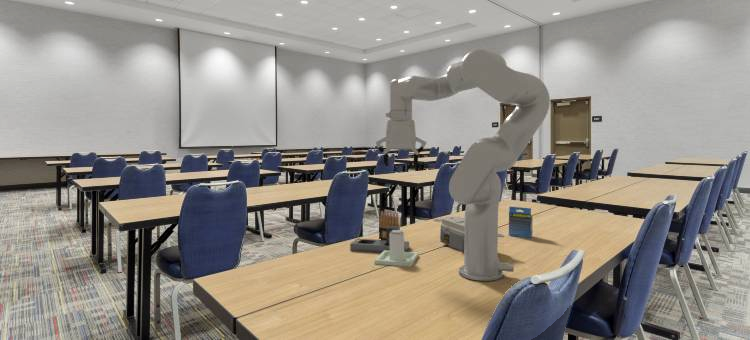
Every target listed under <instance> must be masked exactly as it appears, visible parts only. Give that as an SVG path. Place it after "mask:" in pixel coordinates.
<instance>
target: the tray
mask: <svg viewBox="0 0 750 340" xmlns="http://www.w3.org/2000/svg"><path fill="white" fill-rule="evenodd" d="M418 257H419V252H415V251H407V252H404V259H403V261H392V260H390V251H389V250H384V251H383V252H382V253H380V254H379V255H377V257H376V258H375V259H374V263H373V264H374V265H382V266H383V265H384V266H395V267H407V268H408V267H410V268H411V267H412V266H413V265H414V264H415V262H416V260H417V259H418Z"/></svg>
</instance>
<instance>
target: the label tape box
mask: <svg viewBox="0 0 750 340" xmlns="http://www.w3.org/2000/svg"><path fill="white" fill-rule="evenodd" d="M508 210H509V211H508V236H509V237H517V236H518V237H519V238H520V237H521V238H528V239H529V238H530V239H531V238H532V237H533V215H532V208H531V207H519V206H509V209H508ZM519 210H520V211H519Z"/></svg>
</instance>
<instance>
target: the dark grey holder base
mask: <svg viewBox="0 0 750 340" xmlns="http://www.w3.org/2000/svg"><path fill="white" fill-rule="evenodd" d="M393 230H401V226H400V225H399V226H388V227H387V228H386V240H379V239H372V238H369V239H368V238H358V237H357V238H356V239H355V240H353V241H352V242H350V244H349V248H350V249H349V250H350V251H351V252H352V251H354V252H355V251H356V252H365V253H380V254H381V253H382V252H383V251H384V250H389V251H390V246H389V234H390V233H391V231H393ZM409 249H410V241H406V240H404V252H409Z"/></svg>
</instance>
